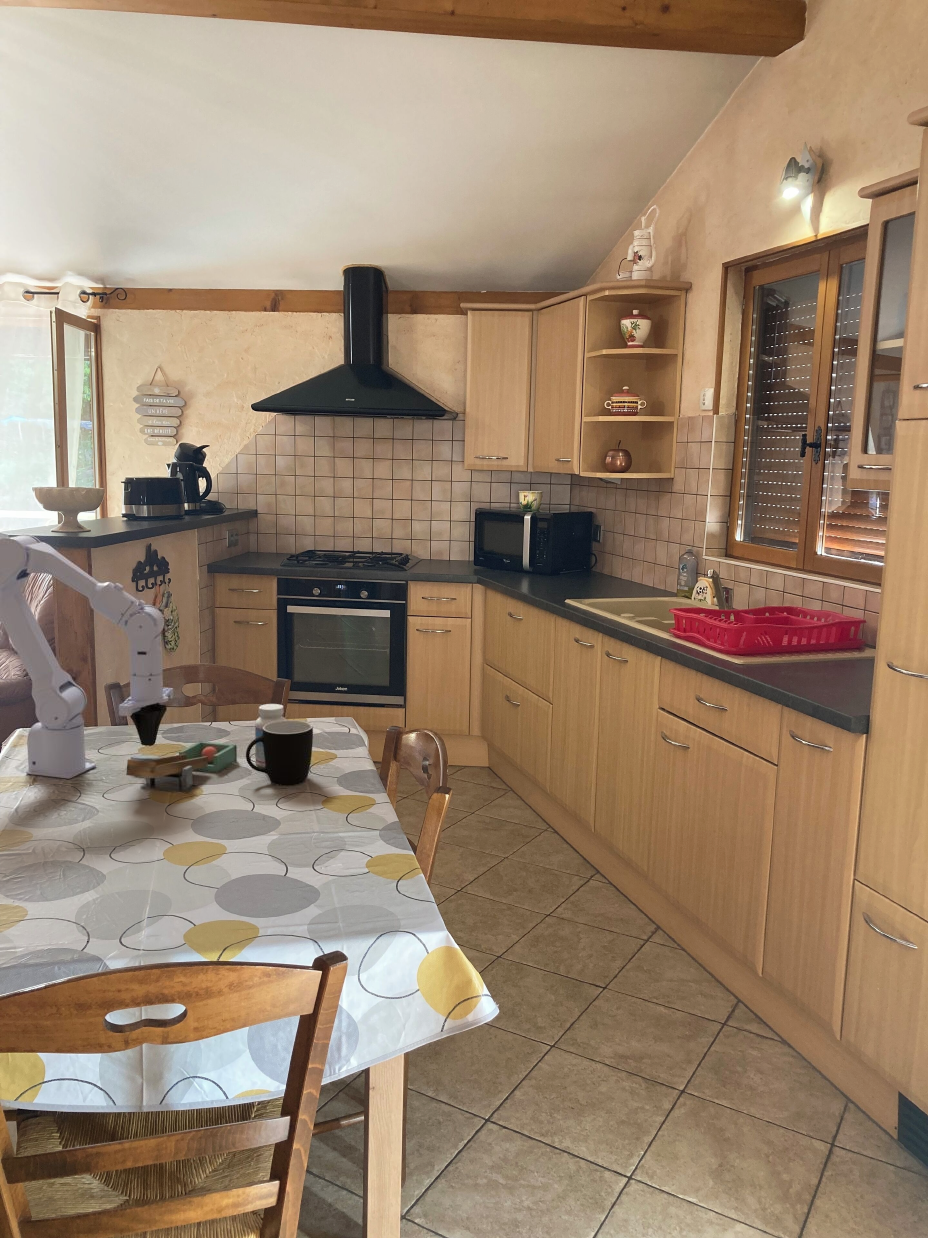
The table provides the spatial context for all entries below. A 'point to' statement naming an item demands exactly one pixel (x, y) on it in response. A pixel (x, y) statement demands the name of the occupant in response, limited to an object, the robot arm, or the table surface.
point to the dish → (221, 759)
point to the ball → (209, 753)
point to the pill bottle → (267, 715)
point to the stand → (172, 782)
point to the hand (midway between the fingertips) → (148, 744)
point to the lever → (162, 765)
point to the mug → (285, 751)
